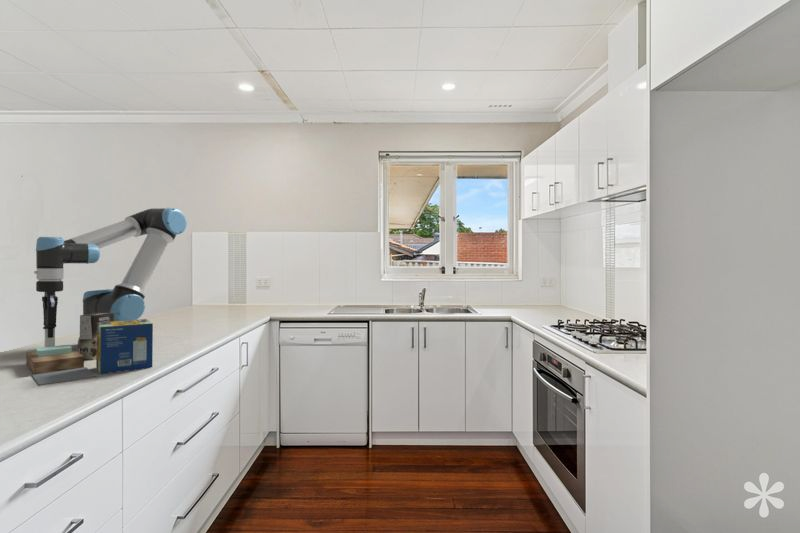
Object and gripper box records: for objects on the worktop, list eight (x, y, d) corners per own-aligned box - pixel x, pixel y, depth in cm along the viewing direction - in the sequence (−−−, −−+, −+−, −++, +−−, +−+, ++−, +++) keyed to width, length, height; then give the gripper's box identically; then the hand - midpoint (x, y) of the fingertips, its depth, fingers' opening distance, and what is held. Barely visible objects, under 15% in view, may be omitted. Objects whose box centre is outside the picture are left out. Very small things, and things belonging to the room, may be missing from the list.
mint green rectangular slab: (68, 350, 156) (68, 344, 155) (71, 353, 151) (71, 347, 151) (35, 353, 149) (35, 348, 149) (38, 357, 145) (38, 351, 145)
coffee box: (93, 360, 158) (93, 315, 158) (78, 358, 160) (78, 314, 159) (114, 354, 167) (114, 312, 167) (100, 353, 169) (100, 311, 168)
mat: (85, 368, 147) (85, 367, 147) (96, 376, 138) (96, 375, 138) (32, 375, 137) (32, 374, 137) (38, 385, 128) (38, 384, 128)
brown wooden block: (72, 358, 160) (72, 347, 160) (83, 368, 147) (83, 356, 147) (26, 364, 150) (26, 352, 150) (33, 375, 138) (33, 362, 138)
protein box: (95, 367, 148) (95, 322, 148) (147, 361, 158) (147, 318, 158) (99, 374, 140) (99, 326, 140) (153, 367, 150) (153, 322, 150)
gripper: (33, 279, 157) (33, 344, 157) (39, 281, 148) (38, 350, 148) (59, 279, 162) (59, 342, 163) (66, 281, 153) (66, 347, 154)
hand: (49, 346), depth 156 cm, fingers closed
